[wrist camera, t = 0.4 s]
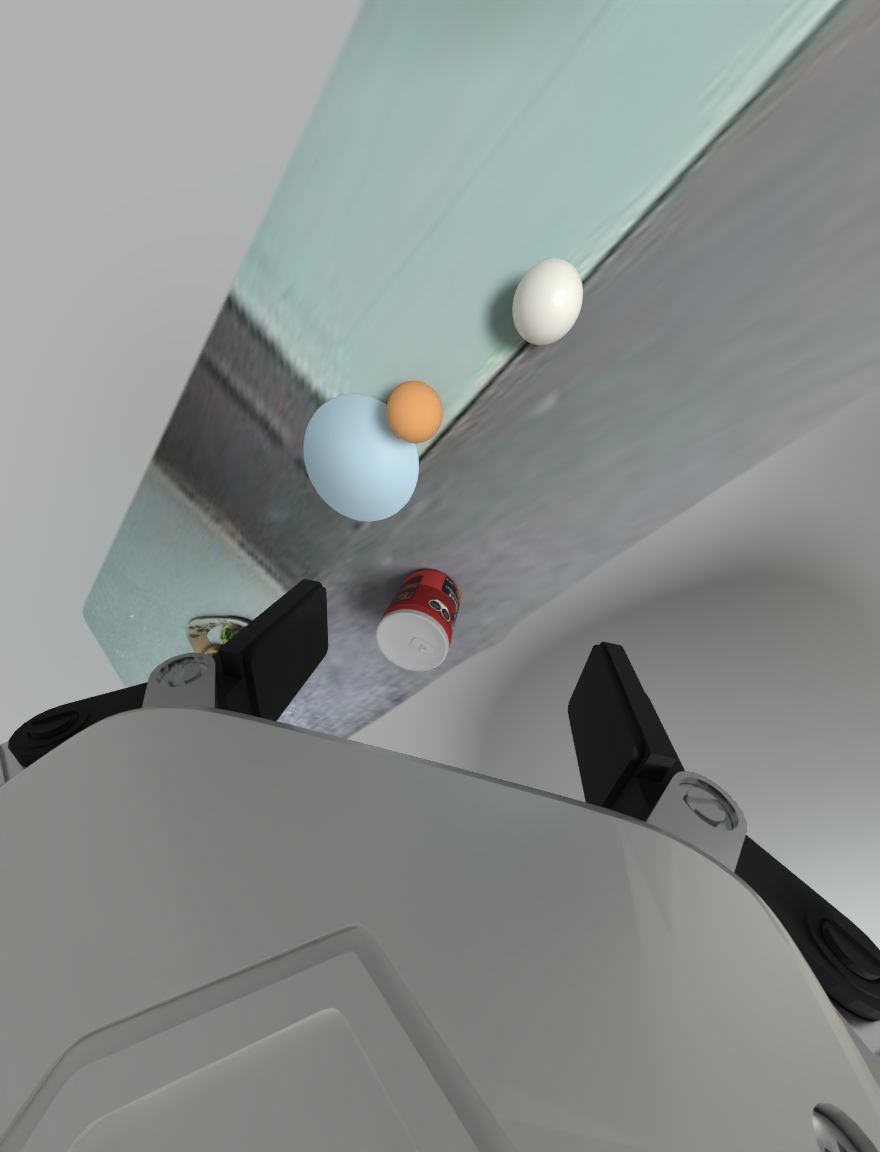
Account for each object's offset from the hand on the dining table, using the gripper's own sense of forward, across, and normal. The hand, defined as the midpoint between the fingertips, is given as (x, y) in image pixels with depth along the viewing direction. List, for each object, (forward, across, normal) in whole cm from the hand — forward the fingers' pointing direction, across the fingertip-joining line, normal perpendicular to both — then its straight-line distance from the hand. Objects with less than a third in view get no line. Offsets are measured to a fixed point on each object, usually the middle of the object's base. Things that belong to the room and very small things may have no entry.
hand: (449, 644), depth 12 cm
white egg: (+26, -2, -16) cm, 30 cm away
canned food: (+29, +5, +15) cm, 33 cm away
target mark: (+29, +15, 0) cm, 33 cm away
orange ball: (+26, +9, -6) cm, 28 cm away
